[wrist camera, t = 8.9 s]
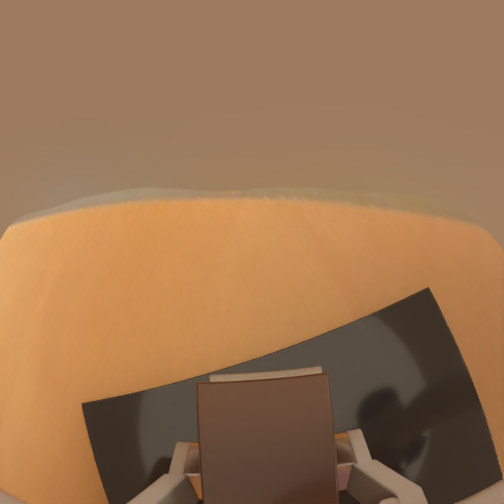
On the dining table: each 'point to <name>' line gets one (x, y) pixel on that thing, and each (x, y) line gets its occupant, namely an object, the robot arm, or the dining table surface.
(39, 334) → the dining table surface
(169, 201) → the dining table surface
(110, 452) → the slate
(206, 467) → the brown block with base
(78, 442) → the dining table surface
